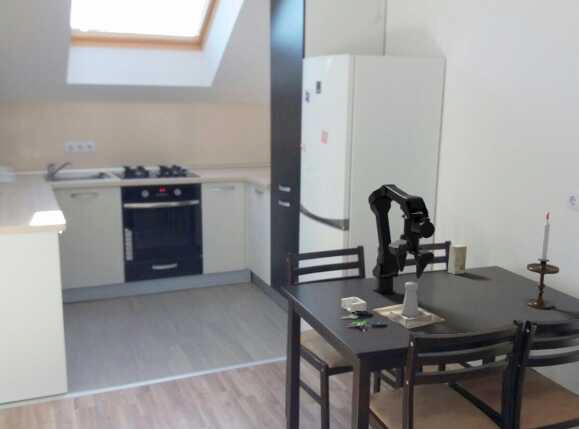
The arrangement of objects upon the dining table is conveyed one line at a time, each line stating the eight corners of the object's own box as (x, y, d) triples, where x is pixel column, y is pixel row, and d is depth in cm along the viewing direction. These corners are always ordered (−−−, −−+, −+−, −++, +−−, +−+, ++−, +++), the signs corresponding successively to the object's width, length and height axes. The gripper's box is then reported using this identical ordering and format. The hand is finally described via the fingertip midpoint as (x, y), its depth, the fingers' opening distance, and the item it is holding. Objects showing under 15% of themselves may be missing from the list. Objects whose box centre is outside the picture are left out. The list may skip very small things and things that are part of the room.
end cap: (351, 313, 208) (352, 304, 207) (341, 307, 214) (341, 298, 213) (366, 310, 211) (366, 302, 210) (354, 304, 217) (355, 296, 216)
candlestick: (555, 311, 212) (565, 215, 205) (523, 307, 216) (531, 212, 209) (555, 302, 221) (564, 210, 215) (524, 298, 226) (532, 207, 219)
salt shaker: (421, 321, 199) (423, 284, 196) (406, 323, 197) (408, 285, 195) (412, 315, 204) (414, 279, 202) (397, 317, 202) (399, 280, 200)
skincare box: (454, 274, 257) (456, 247, 254) (447, 272, 260) (449, 245, 258) (465, 273, 259) (467, 245, 257) (458, 270, 263) (460, 243, 261)
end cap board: (373, 310, 210) (373, 302, 210) (408, 304, 218) (409, 296, 217) (407, 328, 194) (408, 319, 193) (444, 321, 201) (445, 312, 201)
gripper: (377, 229, 214) (375, 271, 217) (410, 239, 198) (408, 284, 201) (401, 226, 220) (399, 267, 222) (436, 236, 203) (433, 280, 206)
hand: (409, 274), depth 213 cm, fingers open, 9 cm apart
